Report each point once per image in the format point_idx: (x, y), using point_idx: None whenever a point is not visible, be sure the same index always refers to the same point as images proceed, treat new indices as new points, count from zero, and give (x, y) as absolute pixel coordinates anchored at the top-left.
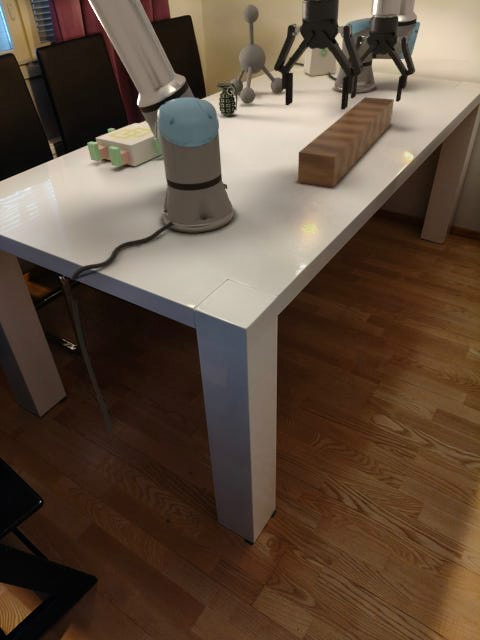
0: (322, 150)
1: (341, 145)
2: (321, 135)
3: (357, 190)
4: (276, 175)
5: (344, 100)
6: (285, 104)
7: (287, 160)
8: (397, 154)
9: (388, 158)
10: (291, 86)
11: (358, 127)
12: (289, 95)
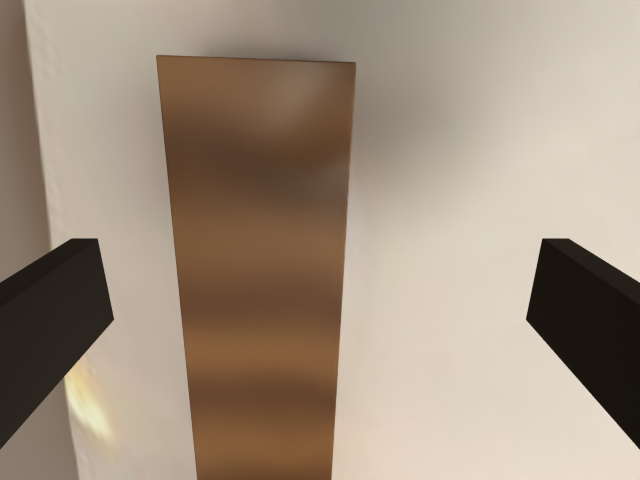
0: (250, 129)
1: (194, 224)
2: (330, 322)
3: (106, 72)
4: (451, 110)
5: (31, 266)
6: (570, 241)
7: (453, 265)
8: (123, 413)
9: (134, 377)
10: (611, 377)
11: (218, 445)
12: (578, 292)
